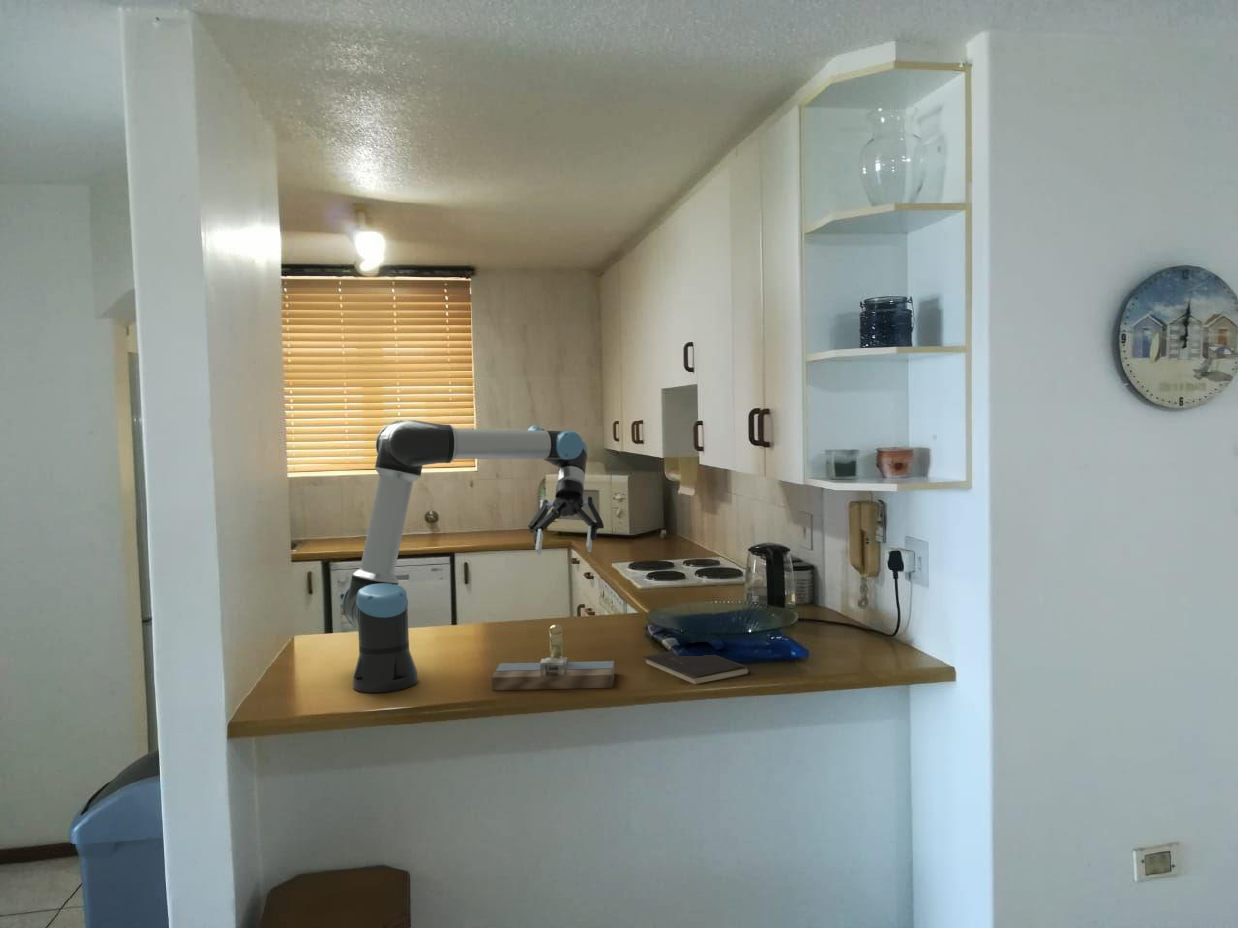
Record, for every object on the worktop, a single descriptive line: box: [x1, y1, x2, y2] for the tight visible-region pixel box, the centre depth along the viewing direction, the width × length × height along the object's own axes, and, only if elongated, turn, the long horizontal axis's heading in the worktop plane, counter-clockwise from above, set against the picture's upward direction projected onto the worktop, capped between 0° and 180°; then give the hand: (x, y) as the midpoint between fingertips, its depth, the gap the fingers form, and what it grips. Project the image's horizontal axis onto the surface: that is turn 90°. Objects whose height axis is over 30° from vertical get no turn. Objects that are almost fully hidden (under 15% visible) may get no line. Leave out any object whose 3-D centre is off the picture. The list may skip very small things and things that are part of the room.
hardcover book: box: [643, 650, 750, 685], centre depth 218 cm, size 16×23×2 cm
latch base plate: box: [495, 656, 615, 681], centre depth 213 cm, size 28×6×4 cm, turn 88°
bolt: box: [548, 623, 563, 668], centre depth 214 cm, size 3×7×9 cm, turn 178°
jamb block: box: [491, 657, 614, 691], centre depth 207 cm, size 28×5×6 cm, turn 88°
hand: (563, 550), depth 231 cm, fingers open, 13 cm apart
